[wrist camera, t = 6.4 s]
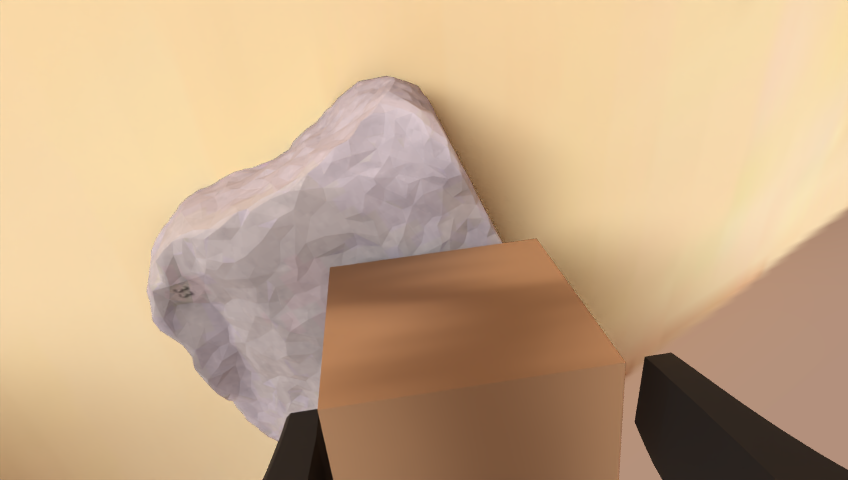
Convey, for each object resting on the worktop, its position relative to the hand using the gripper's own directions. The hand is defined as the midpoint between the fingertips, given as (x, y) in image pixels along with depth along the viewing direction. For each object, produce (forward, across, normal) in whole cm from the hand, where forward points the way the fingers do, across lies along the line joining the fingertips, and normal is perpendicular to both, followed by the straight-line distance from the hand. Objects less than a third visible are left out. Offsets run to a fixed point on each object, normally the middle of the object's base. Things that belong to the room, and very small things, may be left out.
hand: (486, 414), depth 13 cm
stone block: (+7, +3, +1) cm, 8 cm away
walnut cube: (+3, 0, 0) cm, 3 cm away
